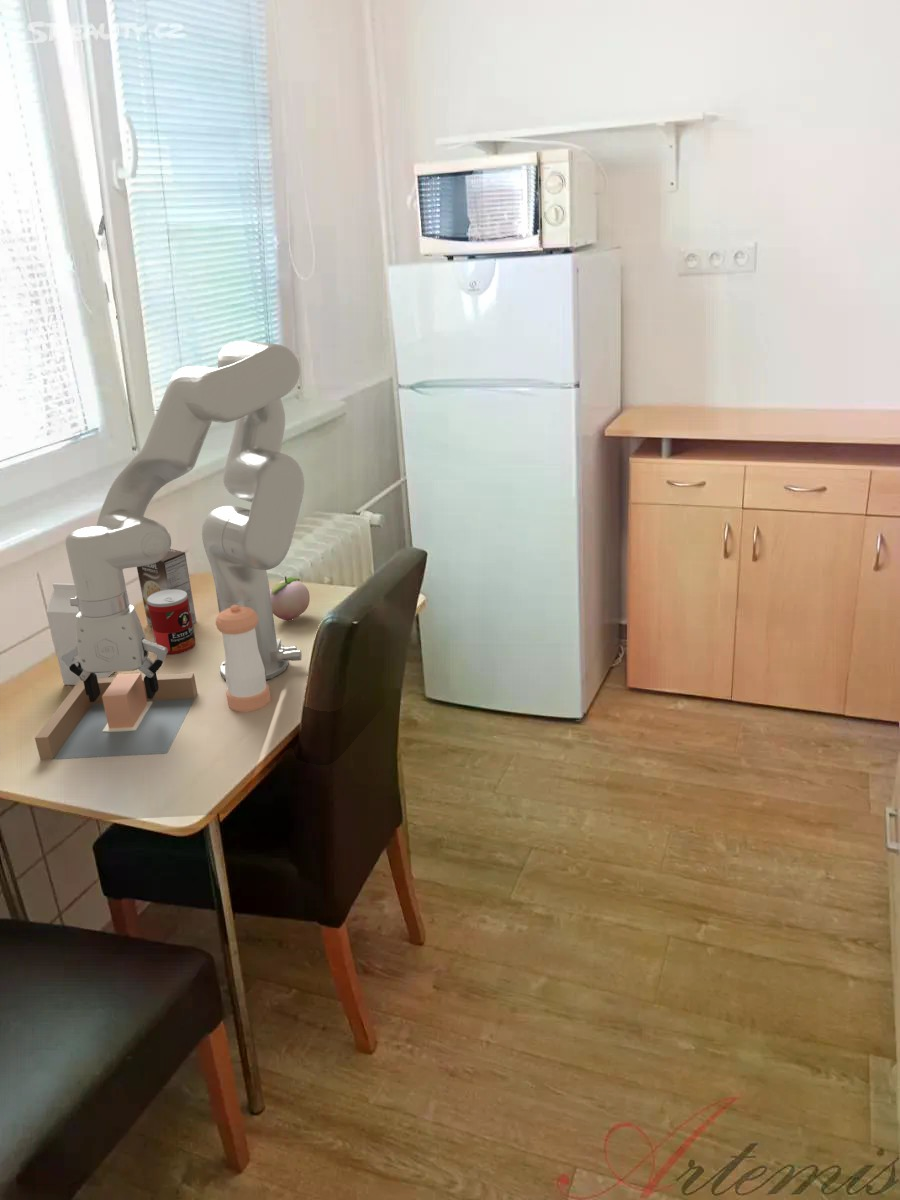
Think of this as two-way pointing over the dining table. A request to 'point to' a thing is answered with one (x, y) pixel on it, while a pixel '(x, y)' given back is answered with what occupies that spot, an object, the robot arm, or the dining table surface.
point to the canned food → (171, 620)
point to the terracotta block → (124, 700)
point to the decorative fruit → (289, 598)
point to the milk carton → (65, 628)
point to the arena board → (88, 734)
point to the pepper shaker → (242, 659)
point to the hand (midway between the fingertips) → (123, 696)
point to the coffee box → (166, 579)
